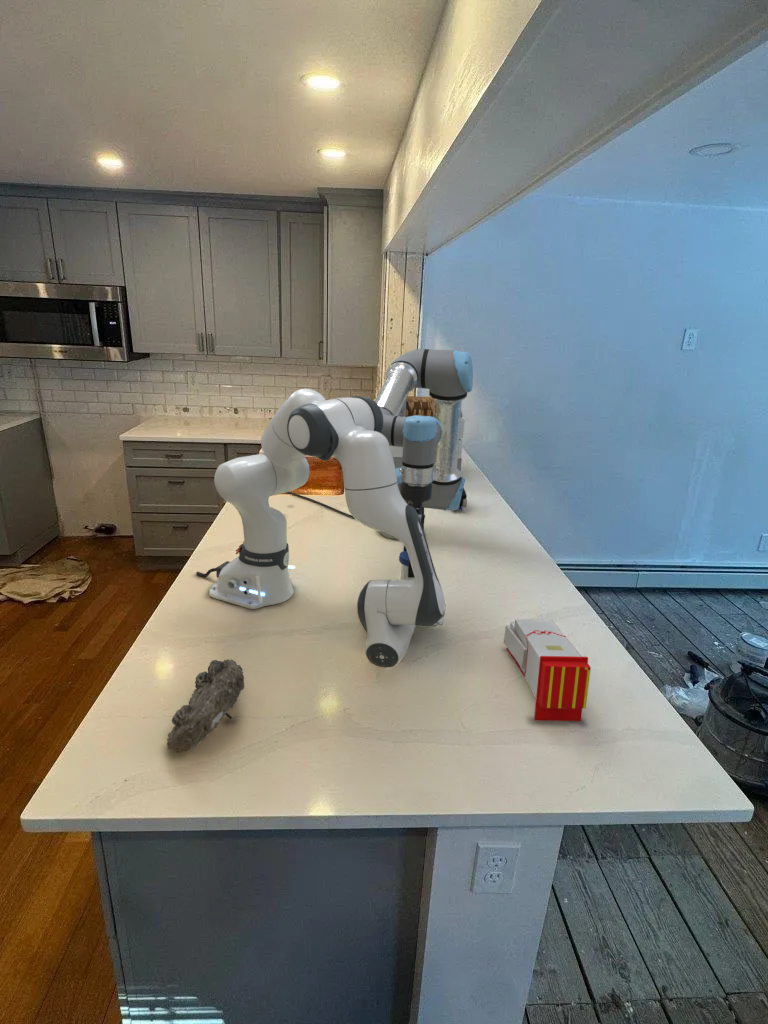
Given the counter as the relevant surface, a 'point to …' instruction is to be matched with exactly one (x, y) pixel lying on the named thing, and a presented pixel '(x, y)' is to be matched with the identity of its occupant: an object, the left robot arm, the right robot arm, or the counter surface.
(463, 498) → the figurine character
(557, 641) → the toy
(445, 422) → the right robot arm
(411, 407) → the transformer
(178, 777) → the counter surface
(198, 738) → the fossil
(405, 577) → the jar
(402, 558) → the lid
